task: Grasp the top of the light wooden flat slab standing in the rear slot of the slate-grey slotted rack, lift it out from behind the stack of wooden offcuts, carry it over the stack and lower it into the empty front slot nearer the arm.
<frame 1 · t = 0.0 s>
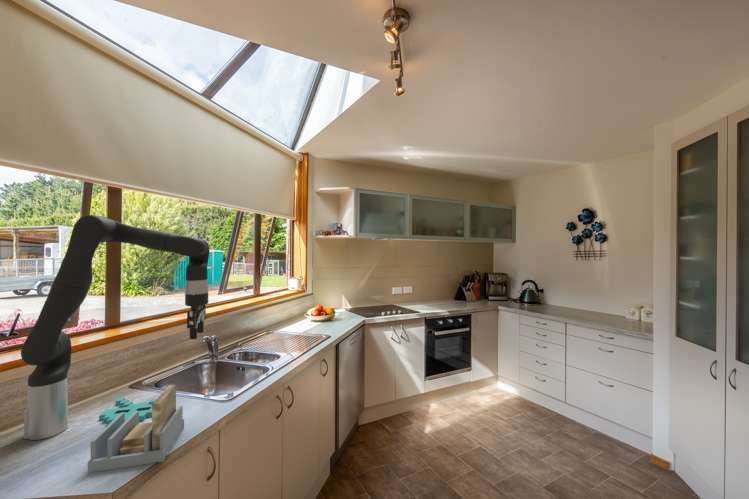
hand: (197, 335, 117), 29 cm above the worktop, fingers open, 8 cm apart
light wooden flat slab: (164, 444, 99), resting in rack
rack: (141, 447, 97), on the worktop
alien figure: (135, 413, 119), on the worktop
offcut stack: (141, 448, 97), resting in rack
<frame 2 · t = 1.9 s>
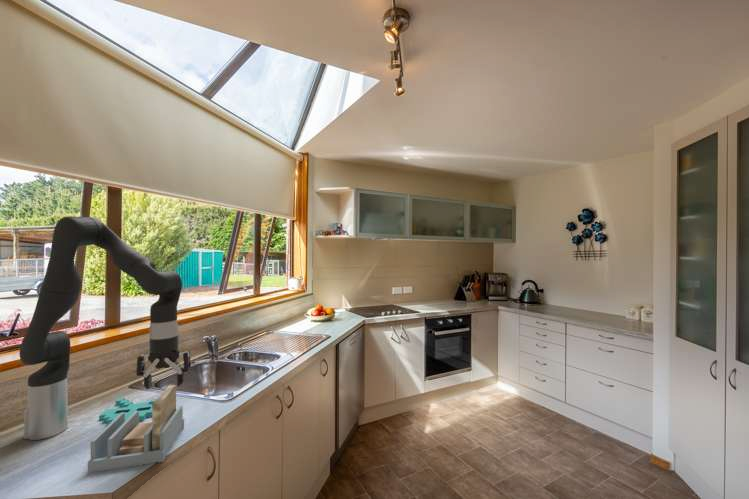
hand: (164, 386, 99), 18 cm above the worktop, fingers open, 8 cm apart
nothing on the worktop moved.
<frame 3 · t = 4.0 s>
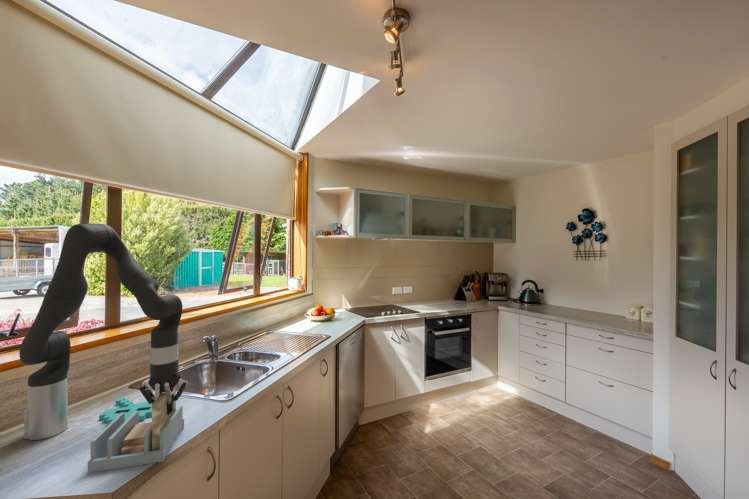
hand: (164, 414, 99), 10 cm above the worktop, fingers closed on light wooden flat slab, 2 cm apart
light wooden flat slab: (164, 444, 99), resting in rack, touching gripper
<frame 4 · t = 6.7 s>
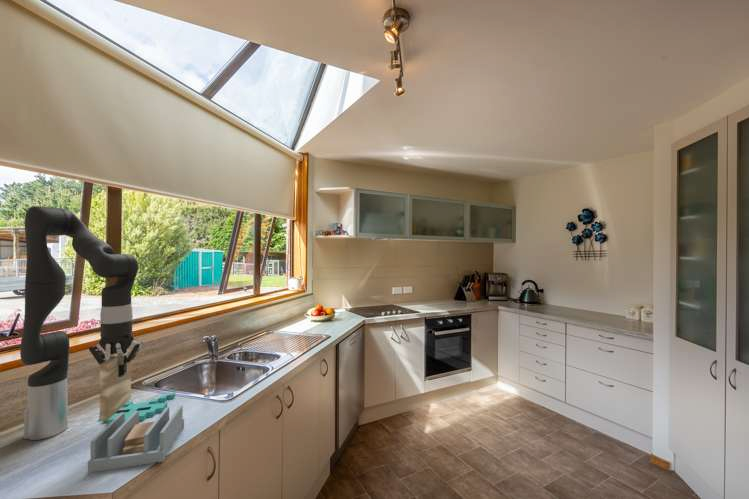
hand: (116, 376, 96), 23 cm above the worktop, fingers closed on light wooden flat slab
light wooden flat slab: (116, 409, 96), point 13 cm above the worktop, touching gripper
everything else where it was.
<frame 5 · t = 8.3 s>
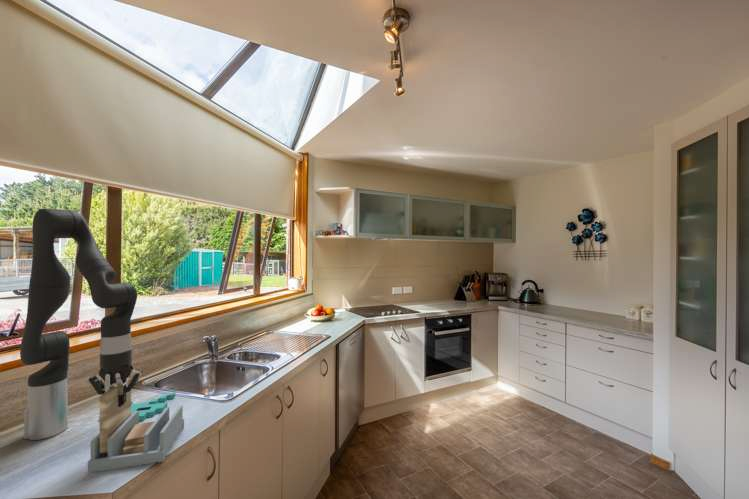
hand: (116, 405, 96), 14 cm above the worktop, fingers closed on light wooden flat slab
light wooden flat slab: (116, 439, 96), point 4 cm above the worktop, touching gripper
everything else where it was.
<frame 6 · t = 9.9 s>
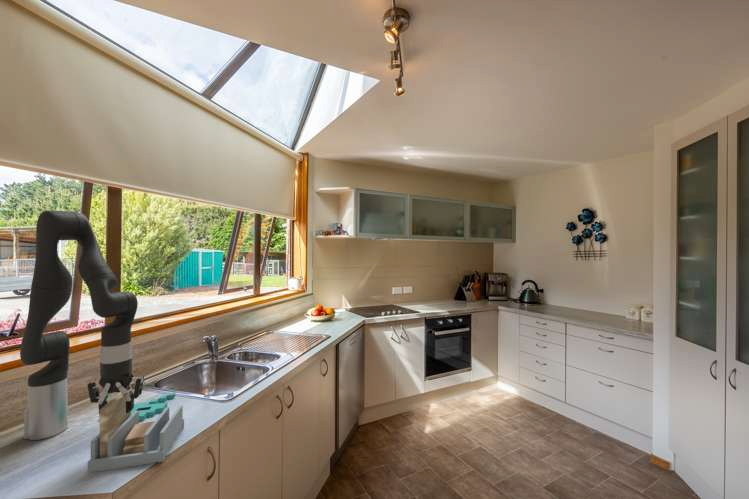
hand: (116, 413, 96), 12 cm above the worktop, fingers open, 6 cm apart
light wooden flat slab: (116, 451, 96), resting in rack
everything else where it was.
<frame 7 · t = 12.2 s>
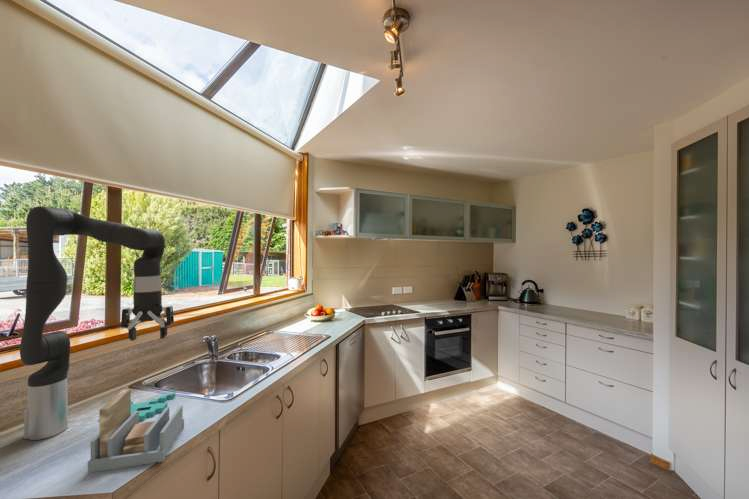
hand: (148, 339, 103), 32 cm above the worktop, fingers open, 8 cm apart
nothing on the worktop moved.
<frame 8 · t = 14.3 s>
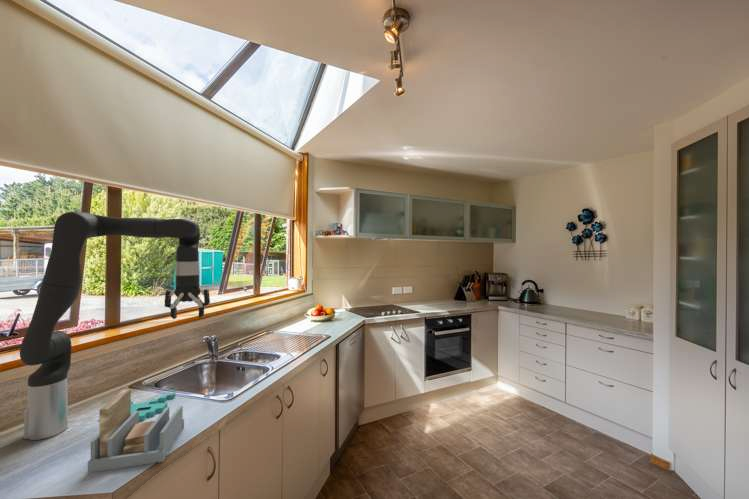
hand: (187, 317, 116), 36 cm above the worktop, fingers open, 8 cm apart
nothing on the worktop moved.
at the end: light wooden flat slab inside the target area on the rack (0.1 cm from its centre), point 0.0 cm above the rack's base; light wooden flat slab tilted 0°; offcut stack moved 0.8 cm from its start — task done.
